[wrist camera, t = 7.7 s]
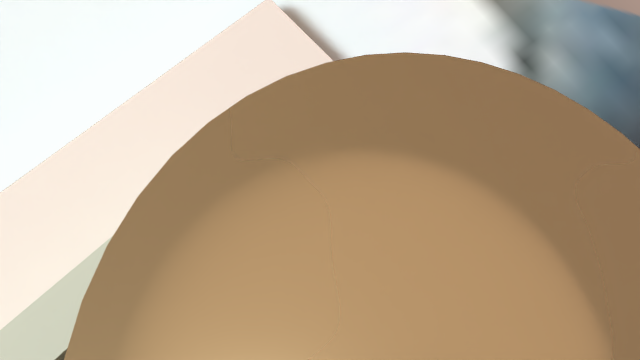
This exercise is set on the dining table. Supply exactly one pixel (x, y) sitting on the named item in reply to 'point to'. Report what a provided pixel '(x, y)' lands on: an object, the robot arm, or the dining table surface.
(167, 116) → the shaft mount
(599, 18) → the dining table surface
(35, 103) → the dining table surface
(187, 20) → the dining table surface
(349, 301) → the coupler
